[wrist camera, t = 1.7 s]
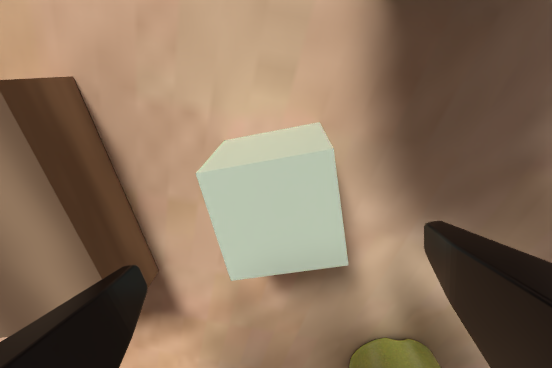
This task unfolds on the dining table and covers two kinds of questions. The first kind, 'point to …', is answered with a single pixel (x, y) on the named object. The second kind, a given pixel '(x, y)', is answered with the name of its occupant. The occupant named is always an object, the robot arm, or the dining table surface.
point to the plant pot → (393, 355)
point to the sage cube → (275, 202)
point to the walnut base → (57, 203)
